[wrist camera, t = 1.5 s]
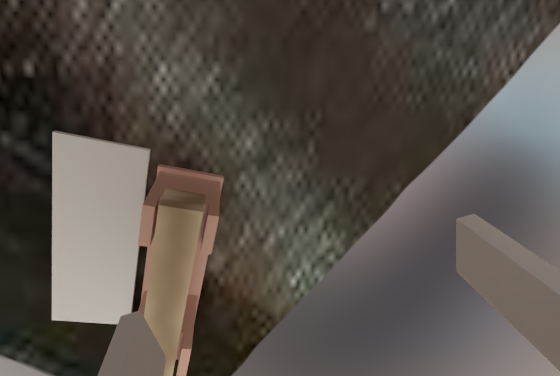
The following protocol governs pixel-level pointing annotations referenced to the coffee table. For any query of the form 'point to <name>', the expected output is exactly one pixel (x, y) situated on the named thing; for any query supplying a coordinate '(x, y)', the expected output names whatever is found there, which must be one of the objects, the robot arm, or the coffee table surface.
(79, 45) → the coffee table surface
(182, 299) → the rail
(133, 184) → the mat
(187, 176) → the stand
